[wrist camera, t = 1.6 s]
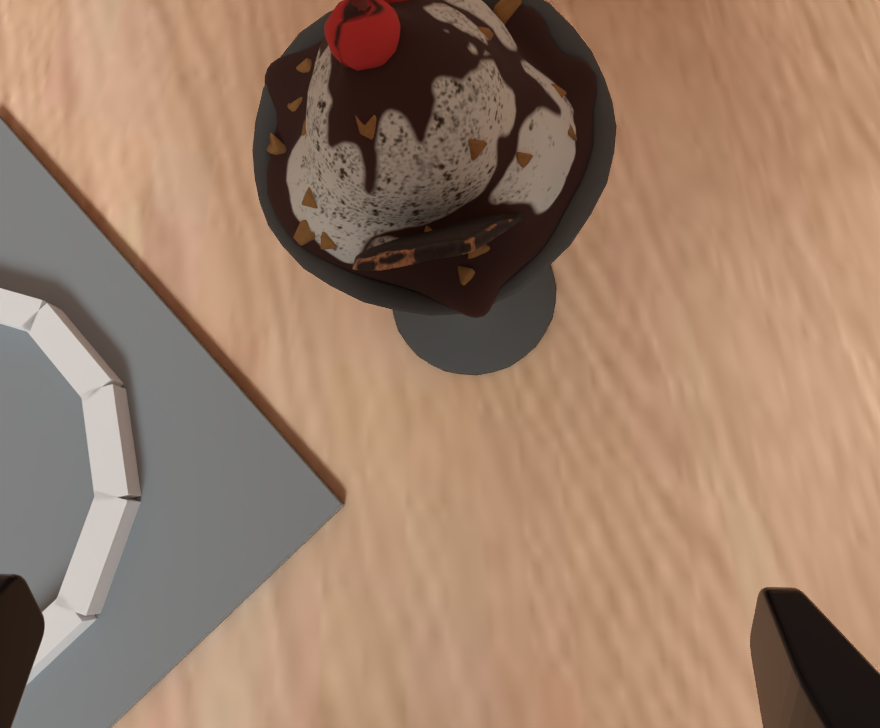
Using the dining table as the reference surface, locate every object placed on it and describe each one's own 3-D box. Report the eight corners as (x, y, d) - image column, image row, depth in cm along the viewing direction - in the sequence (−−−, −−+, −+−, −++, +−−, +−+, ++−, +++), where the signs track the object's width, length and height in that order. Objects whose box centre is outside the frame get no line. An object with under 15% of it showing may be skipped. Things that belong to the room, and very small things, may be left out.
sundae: (432, 156, 26) (293, -343, 11) (624, 253, 24) (750, -171, 10) (321, 333, 25) (15, 47, 10) (513, 445, 24) (470, 293, 9)
